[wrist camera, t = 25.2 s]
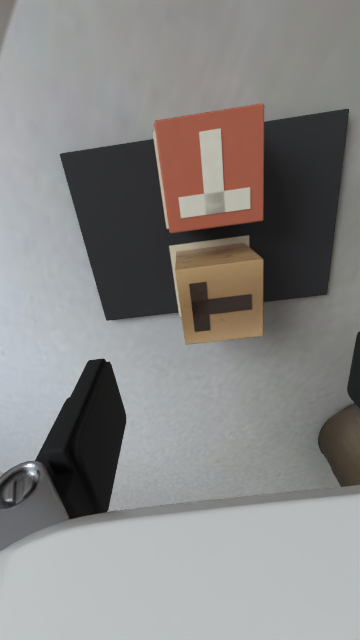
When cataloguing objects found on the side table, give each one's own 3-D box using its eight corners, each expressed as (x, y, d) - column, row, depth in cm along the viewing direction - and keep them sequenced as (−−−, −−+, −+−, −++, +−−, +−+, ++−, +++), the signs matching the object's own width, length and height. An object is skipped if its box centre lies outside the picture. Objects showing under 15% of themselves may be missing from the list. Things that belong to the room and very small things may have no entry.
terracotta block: (160, 138, 17) (153, 120, 12) (241, 125, 16) (265, 102, 12) (172, 222, 19) (169, 234, 14) (243, 212, 19) (264, 221, 14)
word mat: (109, 321, 23) (107, 325, 23) (60, 147, 18) (56, 146, 17) (323, 296, 22) (327, 299, 22) (345, 102, 16) (351, 99, 16)
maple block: (176, 251, 20) (174, 270, 15) (244, 242, 20) (264, 259, 15) (184, 312, 22) (185, 345, 17) (246, 305, 22) (263, 336, 17)
